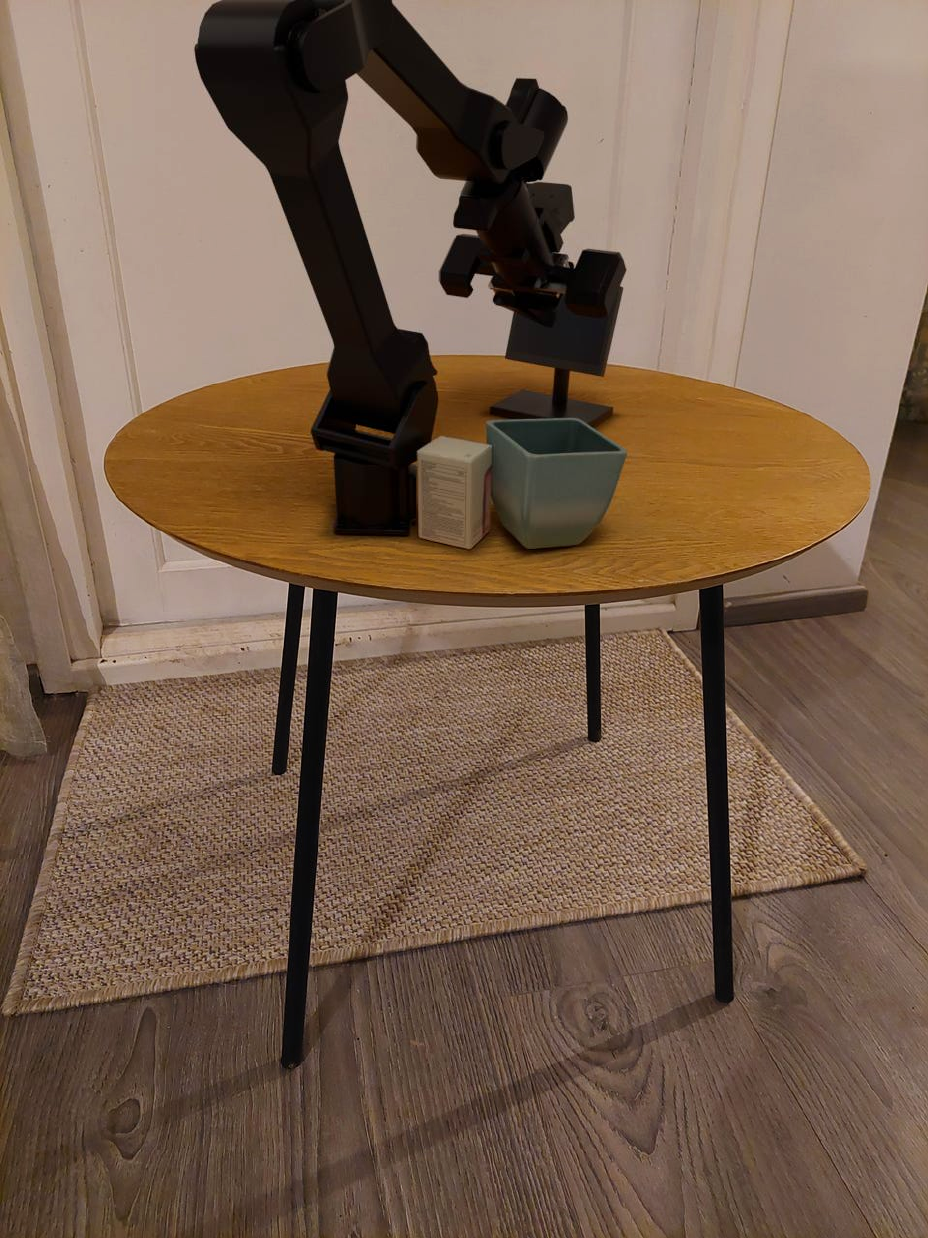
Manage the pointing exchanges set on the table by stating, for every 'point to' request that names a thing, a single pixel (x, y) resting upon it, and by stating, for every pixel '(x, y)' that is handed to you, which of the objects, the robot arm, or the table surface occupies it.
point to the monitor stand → (551, 404)
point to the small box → (454, 491)
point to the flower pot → (552, 478)
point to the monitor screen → (565, 340)
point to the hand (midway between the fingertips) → (550, 323)
